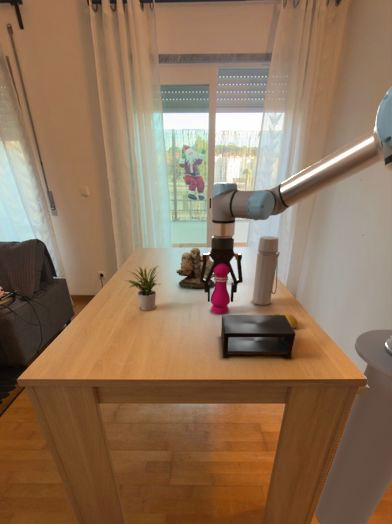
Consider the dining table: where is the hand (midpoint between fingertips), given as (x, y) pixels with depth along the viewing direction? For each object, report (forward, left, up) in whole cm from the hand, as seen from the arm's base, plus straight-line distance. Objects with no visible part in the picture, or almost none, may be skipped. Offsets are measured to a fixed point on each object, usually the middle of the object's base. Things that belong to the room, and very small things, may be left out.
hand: (220, 300), depth 106 cm
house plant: (+28, -4, -4) cm, 29 cm away
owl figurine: (+10, -30, -4) cm, 32 cm away
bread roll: (-21, +12, -4) cm, 25 cm away
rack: (-9, +27, -4) cm, 29 cm away
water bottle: (-18, -8, -4) cm, 20 cm away
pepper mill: (0, 0, -4) cm, 4 cm away
